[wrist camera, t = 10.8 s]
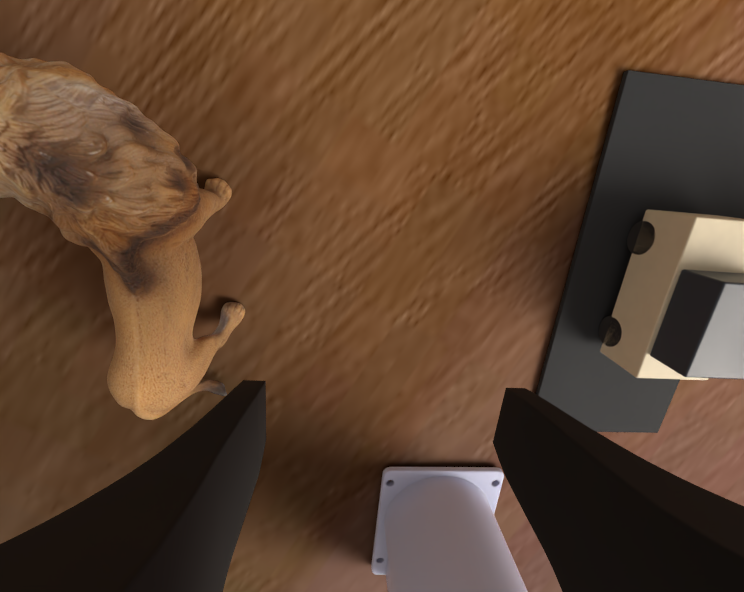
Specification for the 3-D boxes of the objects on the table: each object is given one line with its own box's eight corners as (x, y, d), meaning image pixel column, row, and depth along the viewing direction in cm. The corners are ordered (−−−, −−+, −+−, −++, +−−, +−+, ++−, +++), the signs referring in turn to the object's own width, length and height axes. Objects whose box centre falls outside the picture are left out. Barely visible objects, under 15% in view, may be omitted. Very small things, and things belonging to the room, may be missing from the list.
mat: (654, 429, 24) (657, 432, 24) (526, 427, 24) (528, 430, 23) (793, 93, 18) (800, 92, 18) (623, 71, 17) (628, 70, 17)
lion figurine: (90, 104, 16) (-202, 34, 7) (216, 93, 16) (76, 12, 7) (182, 394, 21) (74, 552, 12) (277, 382, 21) (235, 530, 12)
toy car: (654, 349, 22) (749, 405, 17) (592, 346, 21) (670, 403, 16) (705, 213, 19) (836, 231, 14) (636, 207, 19) (745, 223, 14)
